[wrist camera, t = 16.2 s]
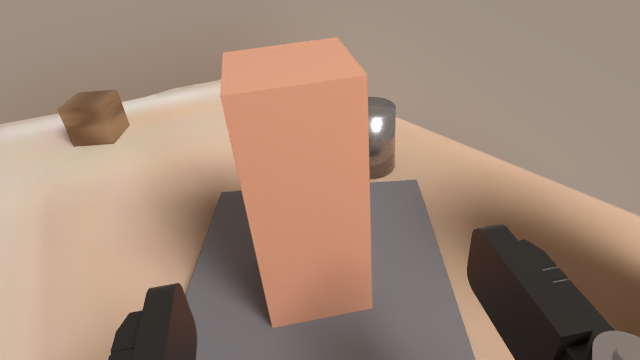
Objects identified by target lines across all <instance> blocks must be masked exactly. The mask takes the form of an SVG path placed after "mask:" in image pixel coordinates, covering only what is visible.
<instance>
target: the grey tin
mask: <svg viewBox="0 0 640 360" xmlns="http://www.w3.org/2000/svg"><path fill="white" fill-rule="evenodd" d="M395 110H396V107H395V105H394V103H393V102H391V101H389V100H386V99H383V98H377V97H368V126H369V174H370V179H377V178H381V177H384V176H386V175H388V174H390V173H391V172H392V171H393V169H394V166H395Z"/></svg>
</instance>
